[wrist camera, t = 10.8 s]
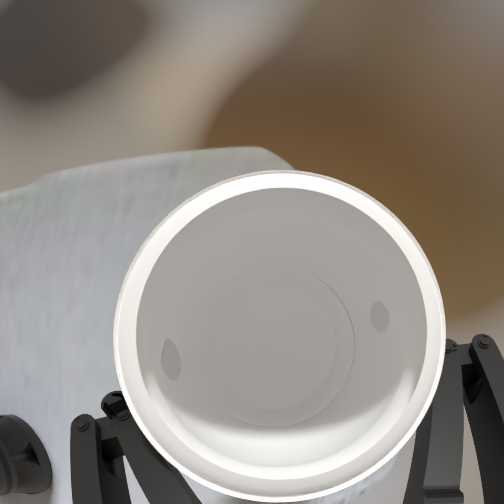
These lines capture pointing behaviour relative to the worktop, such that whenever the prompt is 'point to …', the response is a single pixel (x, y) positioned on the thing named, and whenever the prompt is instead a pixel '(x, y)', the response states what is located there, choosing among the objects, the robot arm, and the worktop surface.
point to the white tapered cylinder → (279, 336)
